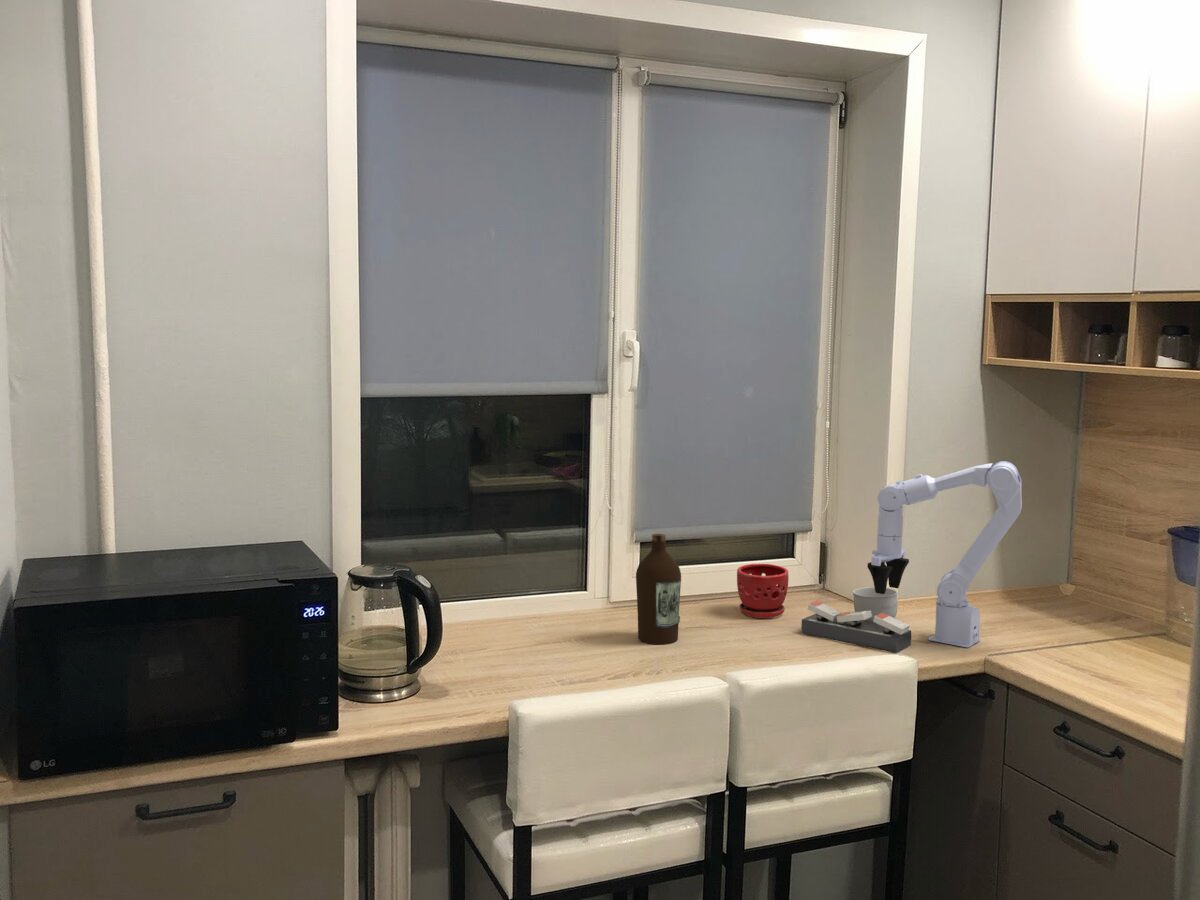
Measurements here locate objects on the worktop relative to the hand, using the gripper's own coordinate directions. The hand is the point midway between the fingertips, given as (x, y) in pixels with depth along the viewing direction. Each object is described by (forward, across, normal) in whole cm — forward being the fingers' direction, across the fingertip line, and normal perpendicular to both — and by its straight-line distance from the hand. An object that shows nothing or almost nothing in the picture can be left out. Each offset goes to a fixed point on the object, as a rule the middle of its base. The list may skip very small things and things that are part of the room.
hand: (887, 590), depth 243 cm
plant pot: (+11, +5, -32) cm, 34 cm away
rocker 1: (+6, +10, -12) cm, 17 cm away
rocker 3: (+6, +10, +6) cm, 13 cm away
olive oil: (+11, +40, -38) cm, 57 cm away
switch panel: (+10, +10, -3) cm, 15 cm away
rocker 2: (+6, +10, -3) cm, 12 cm away
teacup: (+11, -9, -6) cm, 16 cm away
